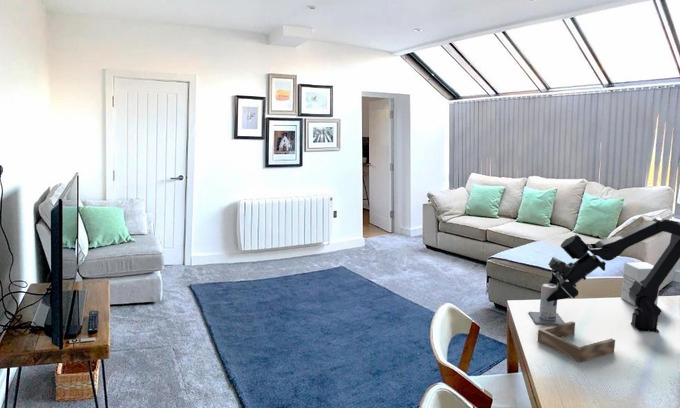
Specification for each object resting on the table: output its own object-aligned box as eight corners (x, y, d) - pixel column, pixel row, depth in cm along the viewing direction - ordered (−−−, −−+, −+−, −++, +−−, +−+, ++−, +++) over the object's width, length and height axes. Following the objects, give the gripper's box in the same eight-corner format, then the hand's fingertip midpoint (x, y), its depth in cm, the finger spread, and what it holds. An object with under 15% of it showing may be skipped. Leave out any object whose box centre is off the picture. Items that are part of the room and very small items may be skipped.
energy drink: (558, 317, 173) (560, 285, 171) (552, 322, 169) (554, 289, 167) (543, 313, 176) (545, 281, 174) (536, 317, 173) (539, 285, 171)
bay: (571, 332, 162) (572, 321, 161) (613, 352, 148) (615, 339, 147) (537, 341, 156) (538, 329, 155) (578, 362, 142) (580, 349, 141)
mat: (557, 314, 177) (557, 313, 177) (565, 325, 167) (565, 324, 167) (528, 313, 178) (528, 311, 178) (535, 324, 169) (535, 322, 168)
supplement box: (641, 297, 194) (645, 261, 192) (657, 306, 186) (662, 268, 183) (620, 298, 194) (623, 261, 191) (634, 306, 185) (639, 268, 182)
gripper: (559, 244, 176) (525, 271, 181) (570, 258, 159) (532, 288, 163) (581, 267, 176) (546, 293, 180) (594, 283, 158) (555, 312, 163)
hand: (544, 296), depth 172 cm, fingers open, 9 cm apart
